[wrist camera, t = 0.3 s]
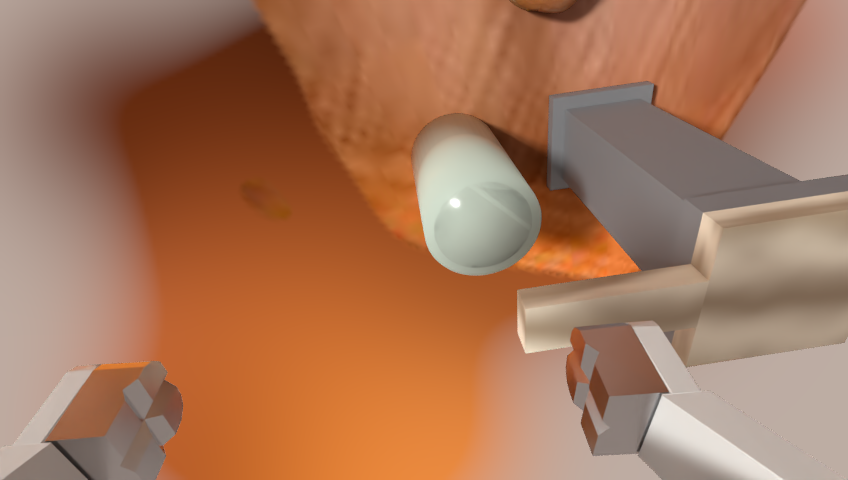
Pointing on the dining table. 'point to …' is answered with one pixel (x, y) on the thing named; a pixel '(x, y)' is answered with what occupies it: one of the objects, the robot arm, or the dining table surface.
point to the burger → (544, 5)
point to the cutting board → (721, 287)
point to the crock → (472, 197)
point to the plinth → (655, 172)
